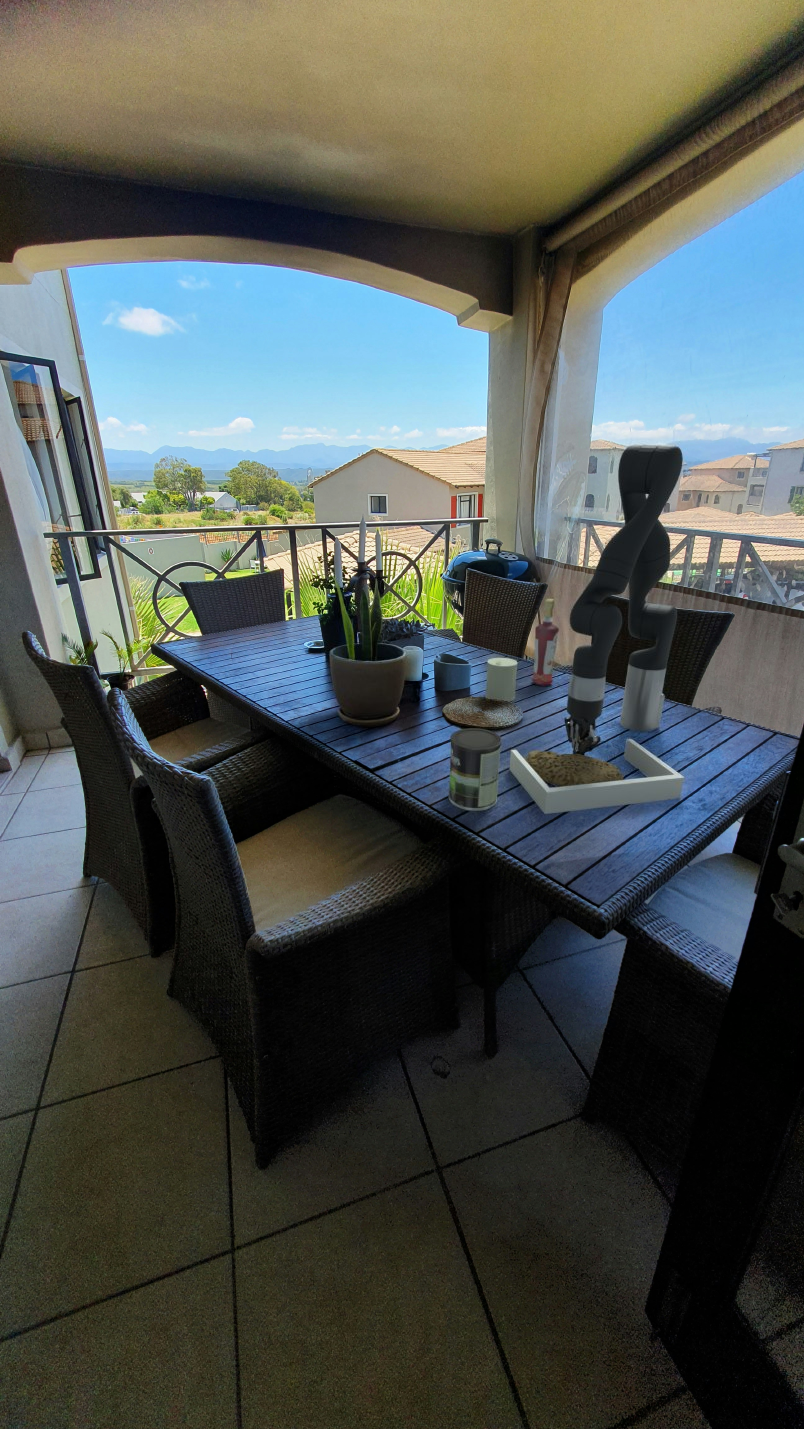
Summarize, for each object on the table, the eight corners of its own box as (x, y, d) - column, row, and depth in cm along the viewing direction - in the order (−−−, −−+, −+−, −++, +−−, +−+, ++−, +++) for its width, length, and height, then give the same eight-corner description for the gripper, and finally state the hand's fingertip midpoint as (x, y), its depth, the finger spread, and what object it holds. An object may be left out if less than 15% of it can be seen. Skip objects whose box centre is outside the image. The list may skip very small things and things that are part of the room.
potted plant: (393, 699, 174) (391, 567, 159) (417, 725, 155) (417, 578, 140) (326, 707, 168) (318, 570, 152) (342, 735, 149) (334, 582, 133)
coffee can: (453, 812, 113) (455, 750, 108) (445, 787, 123) (446, 728, 117) (502, 810, 114) (507, 747, 109) (491, 785, 123) (494, 726, 118)
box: (628, 757, 135) (631, 738, 134) (680, 798, 118) (684, 777, 116) (509, 769, 130) (510, 750, 128) (544, 814, 112) (547, 792, 111)
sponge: (517, 786, 126) (602, 801, 112) (517, 751, 125) (602, 762, 111) (548, 776, 135) (630, 789, 121) (549, 744, 134) (631, 753, 120)
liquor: (548, 689, 181) (557, 602, 171) (527, 685, 185) (534, 600, 175) (556, 682, 187) (565, 598, 176) (535, 679, 191) (542, 596, 180)
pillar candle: (480, 698, 174) (481, 661, 169) (493, 690, 181) (495, 654, 176) (507, 704, 169) (509, 666, 164) (519, 695, 176) (522, 659, 171)
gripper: (618, 703, 117) (607, 775, 124) (587, 682, 129) (578, 750, 136) (585, 705, 116) (575, 779, 123) (556, 685, 128) (549, 753, 135)
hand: (577, 763), depth 129 cm, fingers closed
